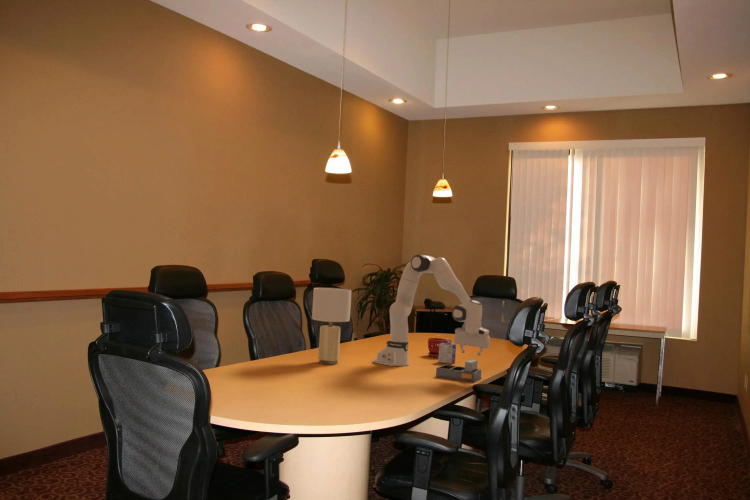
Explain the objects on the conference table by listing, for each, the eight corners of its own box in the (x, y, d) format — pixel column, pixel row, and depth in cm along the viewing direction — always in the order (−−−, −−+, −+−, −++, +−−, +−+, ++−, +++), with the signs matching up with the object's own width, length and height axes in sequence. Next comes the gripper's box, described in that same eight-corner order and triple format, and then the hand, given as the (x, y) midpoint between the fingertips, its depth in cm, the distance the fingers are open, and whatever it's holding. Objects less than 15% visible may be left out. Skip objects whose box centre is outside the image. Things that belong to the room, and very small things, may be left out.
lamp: (347, 360, 387) (351, 289, 387) (346, 367, 364) (351, 291, 364) (310, 358, 386) (314, 287, 387) (307, 365, 364) (312, 289, 364)
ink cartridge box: (455, 363, 400) (456, 340, 401) (451, 364, 396) (453, 341, 396) (441, 361, 406) (443, 338, 406) (437, 362, 401) (439, 339, 401)
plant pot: (447, 358, 418) (448, 340, 418) (427, 357, 418) (428, 339, 418) (445, 355, 431) (446, 337, 431) (426, 354, 431) (427, 336, 431)
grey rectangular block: (464, 377, 348) (465, 361, 348) (469, 375, 357) (470, 359, 357) (471, 379, 346) (472, 362, 346) (476, 376, 355) (477, 360, 355)
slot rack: (435, 376, 353) (436, 367, 353) (444, 372, 366) (445, 364, 366) (473, 382, 343) (473, 373, 343) (480, 378, 356) (481, 369, 356)
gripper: (453, 327, 353) (451, 352, 353) (488, 332, 344) (486, 357, 344) (457, 326, 359) (455, 350, 359) (492, 331, 350) (490, 356, 350)
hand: (471, 354), depth 351 cm, fingers open, 8 cm apart
